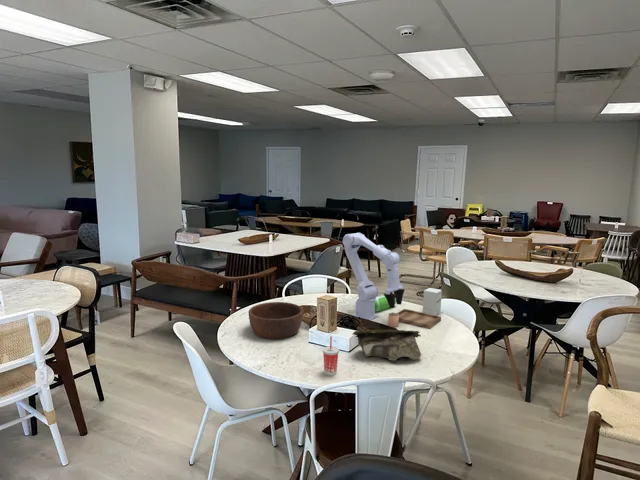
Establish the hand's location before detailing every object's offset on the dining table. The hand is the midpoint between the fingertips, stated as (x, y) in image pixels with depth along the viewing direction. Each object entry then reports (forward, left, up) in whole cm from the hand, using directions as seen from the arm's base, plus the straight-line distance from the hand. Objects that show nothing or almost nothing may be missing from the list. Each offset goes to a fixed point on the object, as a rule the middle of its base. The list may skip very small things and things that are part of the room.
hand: (395, 306), depth 200 cm
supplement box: (+7, +29, -10) cm, 31 cm away
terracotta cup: (-1, 0, -10) cm, 10 cm away
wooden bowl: (-41, -40, -10) cm, 58 cm away
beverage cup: (+2, -58, -10) cm, 59 cm away
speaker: (-17, +19, -10) cm, 27 cm away
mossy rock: (+12, -33, -10) cm, 36 cm away
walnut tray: (+5, +13, -10) cm, 17 cm away
